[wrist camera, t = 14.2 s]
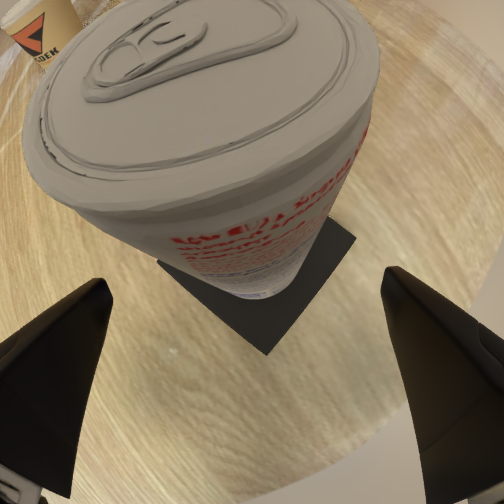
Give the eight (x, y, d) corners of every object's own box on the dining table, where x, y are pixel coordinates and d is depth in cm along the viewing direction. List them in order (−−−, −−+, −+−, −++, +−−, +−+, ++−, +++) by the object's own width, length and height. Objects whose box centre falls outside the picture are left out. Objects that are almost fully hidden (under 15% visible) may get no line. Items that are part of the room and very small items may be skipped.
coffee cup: (29, 80, 26) (-13, 33, 14) (62, 37, 28) (29, -9, 16) (69, 68, 25) (24, 8, 13) (104, 24, 27) (72, -33, 15)
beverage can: (313, 225, 18) (395, -10, 3) (283, 313, 17) (341, 313, 2) (229, 197, 18) (139, -28, 4) (195, 280, 17) (-27, 168, 3)
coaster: (354, 240, 18) (357, 237, 17) (266, 354, 17) (266, 356, 16) (245, 162, 20) (244, 157, 19) (159, 263, 19) (155, 261, 18)
